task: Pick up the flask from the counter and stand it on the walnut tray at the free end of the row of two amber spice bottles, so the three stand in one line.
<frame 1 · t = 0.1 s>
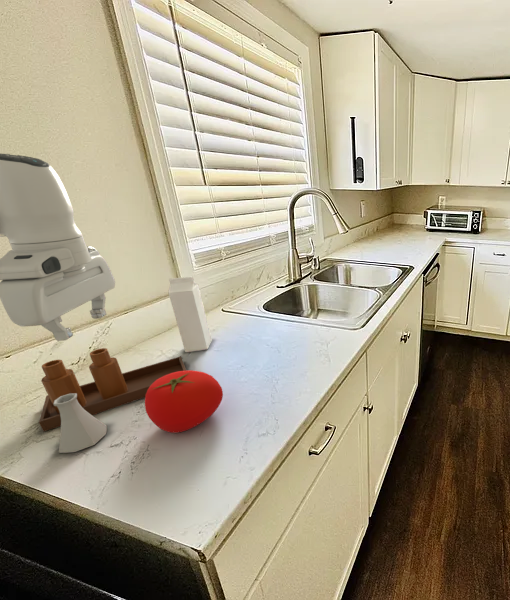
hand: (83, 327, 62), 22 cm above the worktop, tool pointing down, fingers open, 8 cm apart
spice bottle 1: (73, 409, 73), resting on tray
tray: (123, 392, 79), on the worktop
milk: (199, 346, 100), on the worktop
tomato: (190, 422, 69), on the worktop
flask: (84, 440, 65), on the worktop
spice bottle 2: (115, 395, 78), resting on tray
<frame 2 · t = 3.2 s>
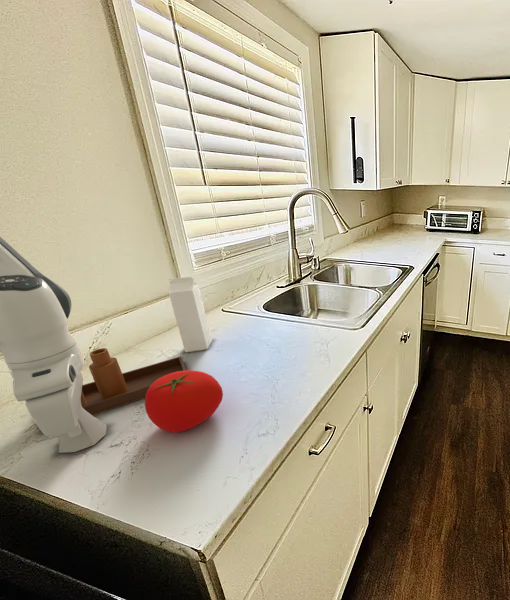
hand: (77, 425, 63), 4 cm above the worktop, tool pointing down, fingers closed on flask, 5 cm apart
flask: (84, 440, 65), on the worktop, touching gripper
everything else where it was.
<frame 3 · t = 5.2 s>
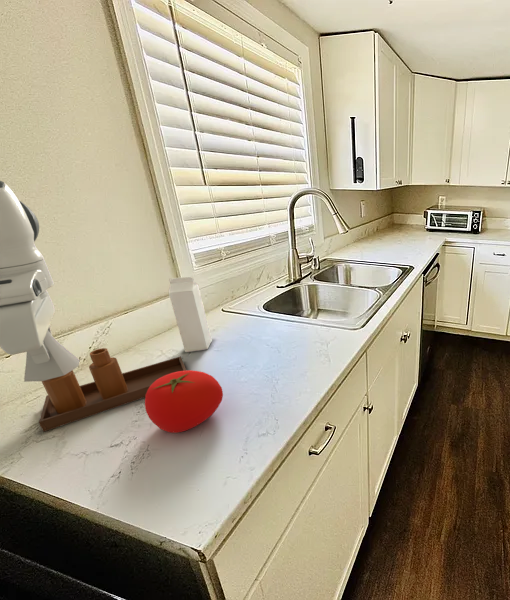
hand: (46, 354, 58), 19 cm above the worktop, tool pointing down, fingers closed on flask, 5 cm apart
flask: (54, 372, 59), point 15 cm above the worktop, touching gripper
everything else where it was.
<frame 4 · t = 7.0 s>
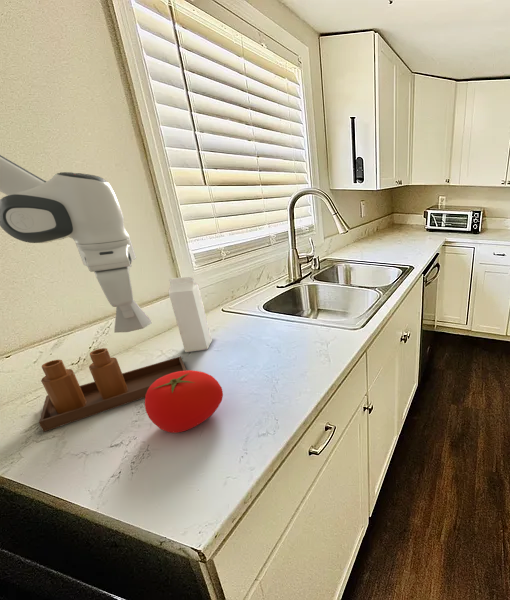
hand: (128, 312, 75), 20 cm above the worktop, tool pointing down, fingers closed on flask, 5 cm apart
flask: (134, 327, 76), point 16 cm above the worktop, touching gripper
everything else where it was.
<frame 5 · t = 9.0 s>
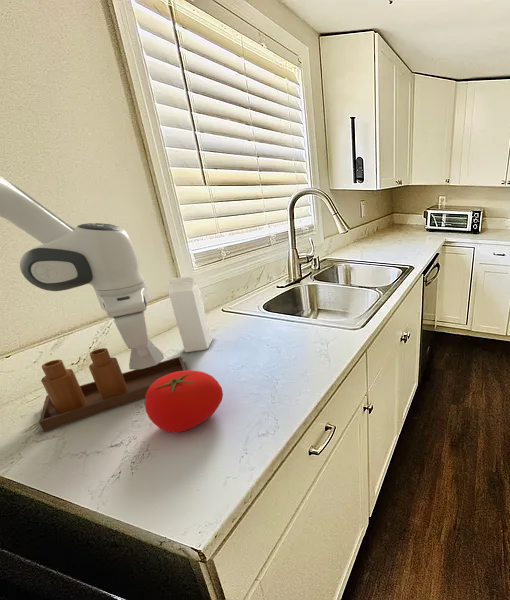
hand: (142, 349, 79), 10 cm above the worktop, tool pointing down, fingers closed on flask, 5 cm apart
flask: (147, 363, 80), point 6 cm above the worktop, touching gripper
everything else where it was.
when the fingers open (4 cm above the worktop, at t = 10.7 s): flask stays where it is, resting on tray.
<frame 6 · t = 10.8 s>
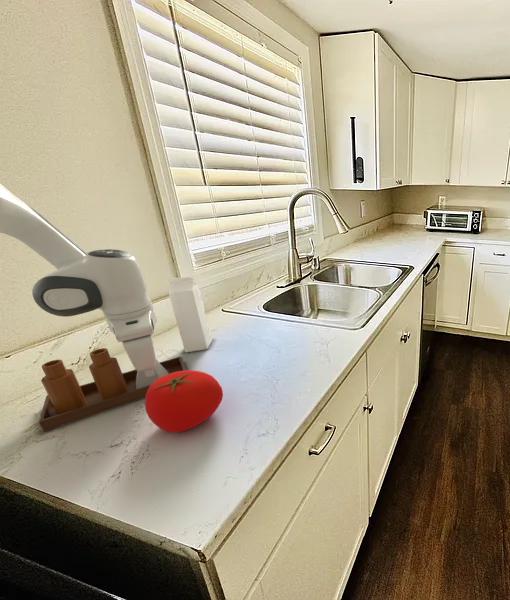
hand: (149, 369, 81), 4 cm above the worktop, tool pointing down, fingers open, 5 cm apart
flask: (153, 381, 82), resting on tray
everything else where it was.
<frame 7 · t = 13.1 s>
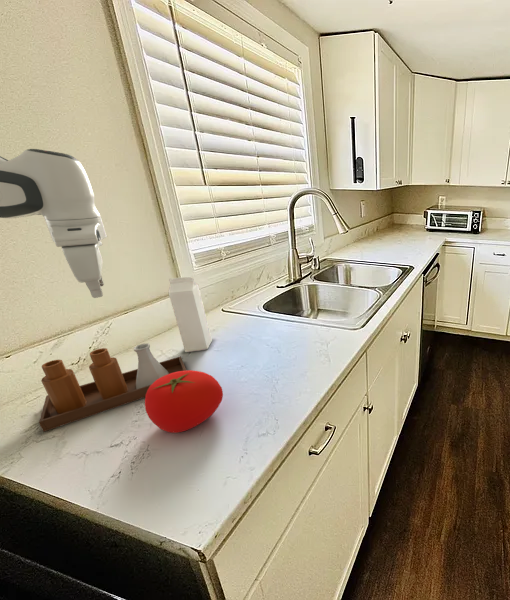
hand: (98, 291, 76), 24 cm above the worktop, tool pointing down, fingers open, 8 cm apart
nothing on the worktop moved.
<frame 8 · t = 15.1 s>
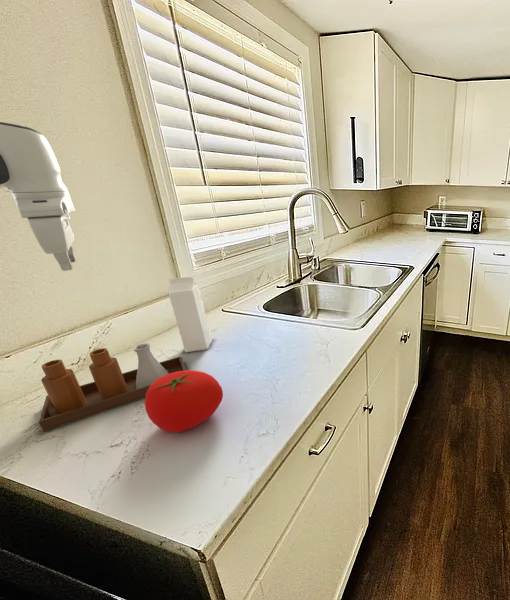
hand: (69, 265, 77), 29 cm above the worktop, tool pointing down, fingers open, 8 cm apart
nothing on the worktop moved.
at the end: flask 0.2 cm from the target spot in the tray, point 0.3 cm above the tray's base; flask tilted 0°; the gripper is holding nothing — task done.
